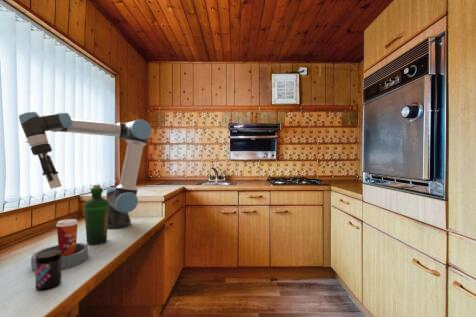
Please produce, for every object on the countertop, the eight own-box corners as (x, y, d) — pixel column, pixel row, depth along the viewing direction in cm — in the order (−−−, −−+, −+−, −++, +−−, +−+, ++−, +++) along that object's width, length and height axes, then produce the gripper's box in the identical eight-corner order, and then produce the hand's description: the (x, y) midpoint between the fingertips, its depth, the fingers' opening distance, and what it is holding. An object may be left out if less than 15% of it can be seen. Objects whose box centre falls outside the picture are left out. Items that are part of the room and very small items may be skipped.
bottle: (114, 240, 125) (113, 184, 125) (95, 247, 115) (95, 186, 115) (98, 238, 129) (97, 183, 129) (78, 244, 119) (78, 186, 119)
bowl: (87, 250, 111) (87, 240, 111) (88, 264, 96) (88, 253, 96) (36, 259, 102) (36, 248, 102) (27, 276, 87) (27, 264, 87)
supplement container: (34, 285, 80) (34, 253, 80) (60, 279, 85) (60, 248, 85) (35, 294, 75) (35, 259, 75) (62, 286, 80) (62, 254, 80)
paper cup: (68, 258, 99) (68, 223, 99) (51, 257, 100) (50, 223, 100) (83, 251, 107) (82, 218, 107) (67, 250, 108) (66, 218, 108)
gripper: (36, 150, 126) (51, 189, 128) (23, 144, 105) (41, 191, 106) (53, 146, 130) (68, 184, 132) (44, 139, 108) (62, 185, 110)
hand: (56, 187), depth 119 cm, fingers open, 13 cm apart
